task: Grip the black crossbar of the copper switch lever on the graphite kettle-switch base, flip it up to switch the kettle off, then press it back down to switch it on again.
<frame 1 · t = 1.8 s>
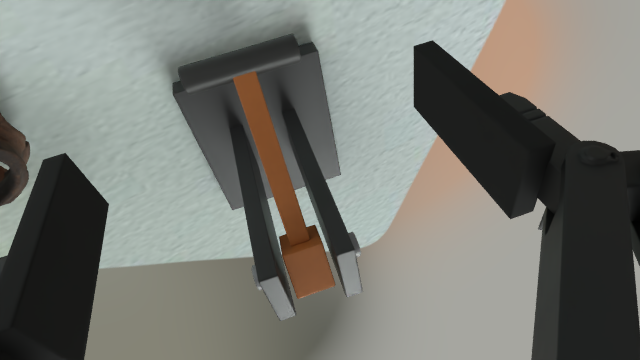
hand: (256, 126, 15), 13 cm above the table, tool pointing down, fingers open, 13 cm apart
switch base: (266, 129, 31), on the table
switch: (279, 178, 20), point 11 cm above the table, hinge at -25.0°
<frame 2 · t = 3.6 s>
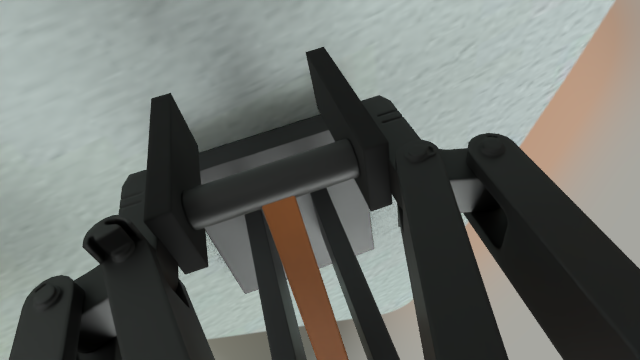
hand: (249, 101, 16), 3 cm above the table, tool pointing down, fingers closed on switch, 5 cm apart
switch base: (287, 204, 25), on the table
switch: (321, 325, 14), point 11 cm above the table, hinge at -25.0°, touching gripper
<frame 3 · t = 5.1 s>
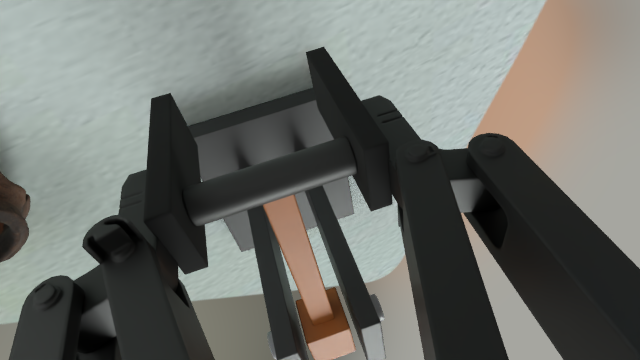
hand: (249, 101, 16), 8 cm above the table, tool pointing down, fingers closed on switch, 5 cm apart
switch base: (277, 170, 30), on the table
switch: (307, 274, 17), point 13 cm above the table, hinge at 0.4°, touching gripper
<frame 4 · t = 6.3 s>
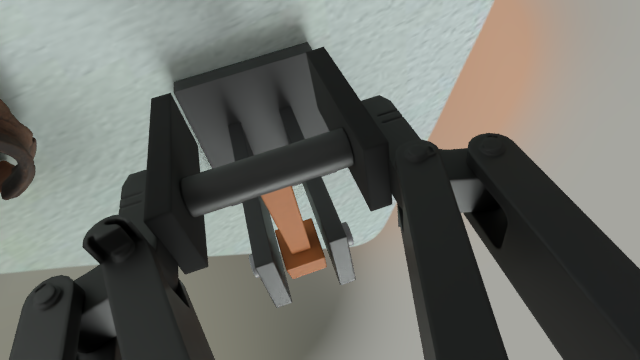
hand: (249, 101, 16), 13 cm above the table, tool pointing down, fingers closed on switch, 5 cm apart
switch base: (264, 127, 32), on the table
switch: (291, 224, 18), point 15 cm above the table, hinge at 22.5°, touching gripper
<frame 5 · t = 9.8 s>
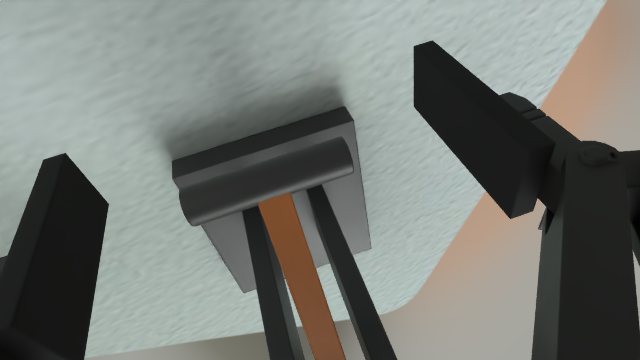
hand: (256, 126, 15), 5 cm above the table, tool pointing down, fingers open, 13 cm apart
switch base: (285, 203, 26), on the table
switch: (317, 320, 15), point 11 cm above the table, hinge at -24.5°
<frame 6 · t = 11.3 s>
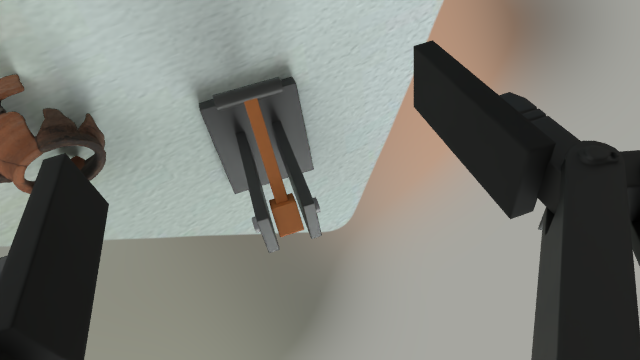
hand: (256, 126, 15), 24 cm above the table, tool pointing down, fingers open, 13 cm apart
brown jagged hollow piece: (35, 124, 37), on the table
switch base: (260, 135, 44), on the table
switch: (269, 161, 33), point 11 cm above the table, hinge at -24.5°
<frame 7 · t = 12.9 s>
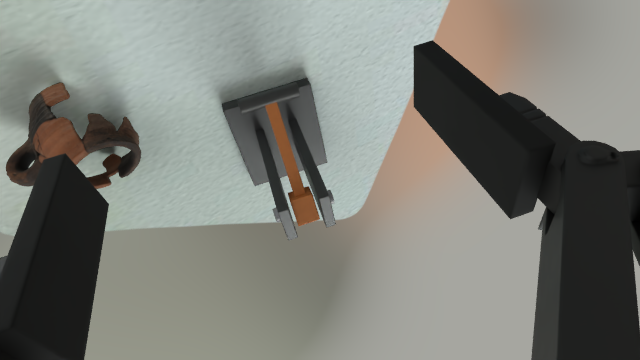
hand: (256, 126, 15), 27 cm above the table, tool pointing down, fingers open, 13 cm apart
brown jagged hollow piece: (77, 126, 41), on the table
switch base: (277, 132, 48), on the table
switch: (288, 158, 37), point 11 cm above the table, hinge at -24.5°
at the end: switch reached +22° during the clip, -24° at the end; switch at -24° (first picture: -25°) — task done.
